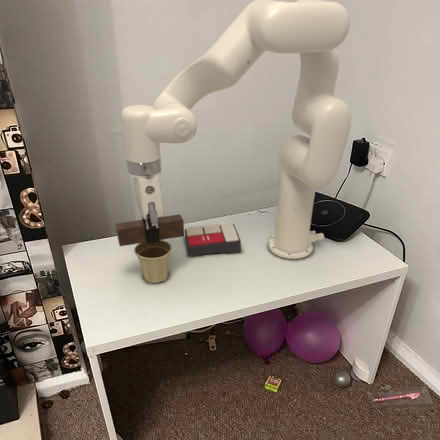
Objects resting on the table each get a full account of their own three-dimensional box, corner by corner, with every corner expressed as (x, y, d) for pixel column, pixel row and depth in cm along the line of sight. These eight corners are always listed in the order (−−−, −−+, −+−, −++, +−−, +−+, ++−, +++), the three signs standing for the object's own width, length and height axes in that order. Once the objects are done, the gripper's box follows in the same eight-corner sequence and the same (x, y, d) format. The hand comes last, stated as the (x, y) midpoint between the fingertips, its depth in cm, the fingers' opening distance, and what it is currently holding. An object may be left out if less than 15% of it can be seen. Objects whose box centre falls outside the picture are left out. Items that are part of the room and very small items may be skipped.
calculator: (184, 226, 130) (233, 220, 131) (185, 239, 132) (234, 233, 133) (187, 245, 121) (240, 238, 122) (189, 258, 123) (241, 252, 125)
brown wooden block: (181, 230, 111) (180, 214, 109) (184, 236, 109) (183, 219, 106) (117, 240, 107) (115, 223, 105) (119, 246, 105) (117, 229, 102)
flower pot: (172, 265, 120) (170, 237, 114) (175, 285, 112) (173, 256, 107) (137, 268, 118) (134, 240, 113) (138, 289, 111) (134, 260, 106)
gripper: (169, 177, 92) (174, 252, 103) (153, 152, 104) (159, 221, 115) (133, 181, 90) (142, 257, 101) (121, 155, 102) (130, 225, 113)
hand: (151, 237), depth 108 cm, fingers closed on brown wooden block, 3 cm apart
